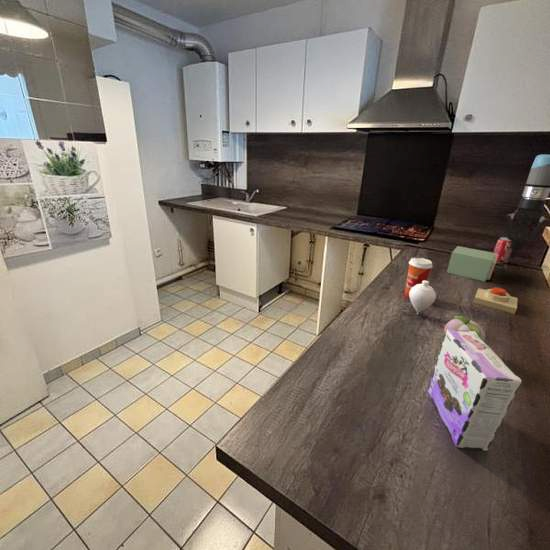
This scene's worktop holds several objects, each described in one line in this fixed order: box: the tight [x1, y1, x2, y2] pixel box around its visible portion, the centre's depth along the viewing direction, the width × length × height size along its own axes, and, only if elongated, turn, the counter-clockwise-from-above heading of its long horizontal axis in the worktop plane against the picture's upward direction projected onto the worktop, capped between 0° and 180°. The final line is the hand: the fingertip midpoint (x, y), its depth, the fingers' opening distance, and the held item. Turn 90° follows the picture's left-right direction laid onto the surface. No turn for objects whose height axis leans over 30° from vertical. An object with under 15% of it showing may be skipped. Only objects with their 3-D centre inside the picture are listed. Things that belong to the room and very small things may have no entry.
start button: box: [491, 286, 507, 296], centre depth 103 cm, size 4×4×2 cm
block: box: [472, 287, 519, 315], centre depth 104 cm, size 12×10×4 cm
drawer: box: [486, 256, 508, 281], centre depth 127 cm, size 18×11×8 cm, turn 51°
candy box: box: [427, 330, 522, 452], centre depth 55 cm, size 14×6×16 cm, turn 175°
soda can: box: [492, 236, 513, 265], centre depth 144 cm, size 7×7×12 cm
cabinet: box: [446, 245, 495, 283], centre depth 129 cm, size 15×13×10 cm
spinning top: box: [409, 280, 437, 315], centre depth 93 cm, size 8×8×12 cm
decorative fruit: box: [443, 315, 486, 342], centre depth 77 cm, size 9×8×10 cm
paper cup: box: [404, 257, 434, 299], centre depth 105 cm, size 8×8×14 cm
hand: (512, 257), depth 119 cm, fingers closed
